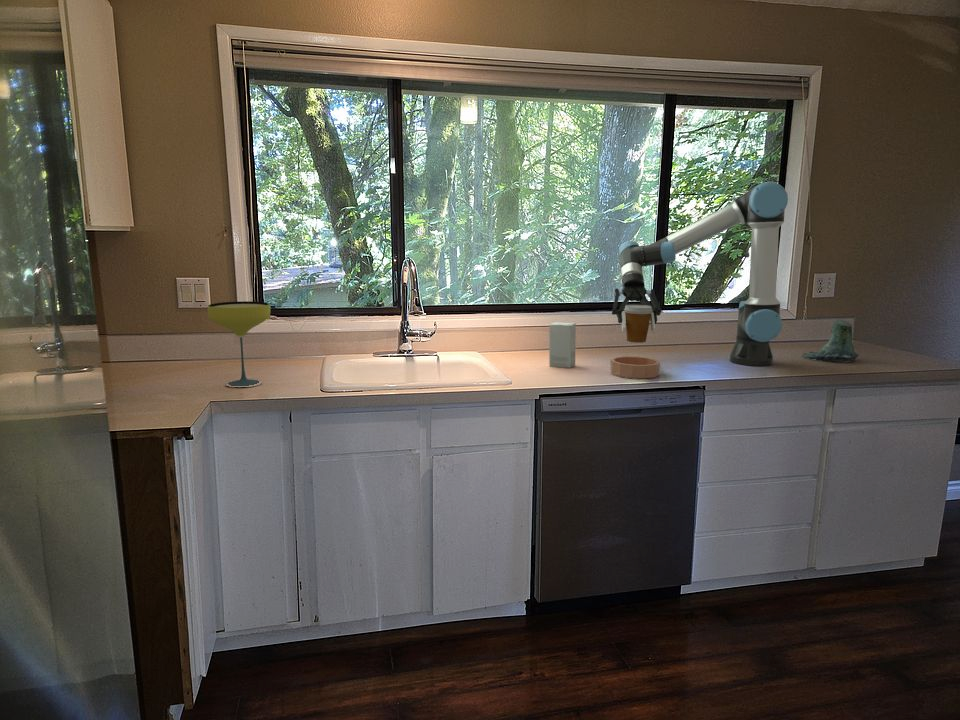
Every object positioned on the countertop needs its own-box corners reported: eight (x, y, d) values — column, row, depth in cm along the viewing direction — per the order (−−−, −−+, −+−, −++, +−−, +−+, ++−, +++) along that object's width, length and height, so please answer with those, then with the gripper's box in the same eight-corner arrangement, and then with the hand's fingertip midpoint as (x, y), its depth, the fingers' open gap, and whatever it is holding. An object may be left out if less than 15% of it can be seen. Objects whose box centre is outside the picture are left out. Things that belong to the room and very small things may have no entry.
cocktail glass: (203, 391, 200) (197, 307, 195) (225, 377, 218) (220, 301, 213) (263, 391, 200) (259, 308, 195) (281, 378, 218) (277, 301, 213)
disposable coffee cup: (651, 344, 222) (653, 308, 220) (622, 342, 224) (624, 307, 222) (650, 339, 231) (652, 305, 229) (621, 338, 233) (624, 303, 231)
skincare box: (575, 365, 243) (577, 322, 240) (570, 368, 237) (571, 325, 234) (553, 363, 246) (555, 321, 243) (547, 366, 240) (549, 323, 237)
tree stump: (828, 354, 273) (844, 313, 266) (865, 375, 256) (882, 332, 248) (791, 353, 268) (805, 311, 261) (826, 375, 250) (842, 331, 243)
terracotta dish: (653, 369, 238) (653, 356, 237) (663, 379, 222) (664, 365, 221) (607, 368, 238) (607, 355, 237) (614, 378, 222) (615, 365, 221)
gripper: (661, 286, 239) (669, 337, 227) (600, 285, 240) (604, 336, 227) (666, 272, 233) (674, 323, 220) (602, 271, 234) (607, 322, 221)
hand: (638, 330), depth 224 cm, fingers closed on disposable coffee cup, 9 cm apart
